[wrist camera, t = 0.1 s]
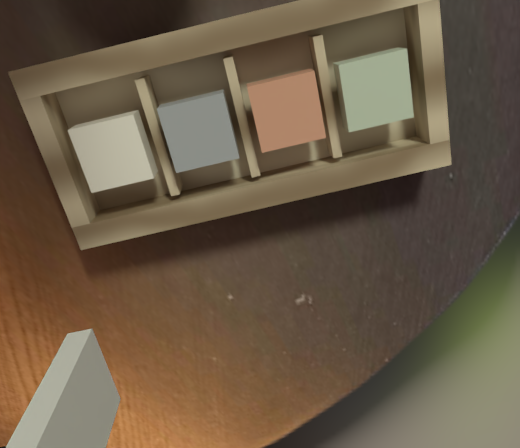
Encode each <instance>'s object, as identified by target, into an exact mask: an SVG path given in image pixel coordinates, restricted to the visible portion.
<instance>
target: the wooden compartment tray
mask: <svg viewBox="0 0 520 448" xmlns="http://www.w3.org/2000/svg"><path fill="white" fill-rule="evenodd" d="M393 48H407V53H408V63H409V73H410V83H411V93H412V103H413V113H414V117H413V118H409V119H404V120H400V121H396V122H392V123H387V124H383V125H379V126H375V127H370V128H366V129H362V130H358V131H353V132H348V131H347V130H346V129H345V128H343V123H342V117H341V111H340V104H339V98H338V92H337V85H336V79H335V73H334V66H333V63H335V62H339V61H344V60H348V59H352V58H356V57H360V56H364V55H368V54H373V53H377V52H381V51H385V50H389V49H393ZM306 69H312V70H314V71H315V77H316V83H317V88H318V94H319V100H320V106H321V111H322V117H323V123H324V128H325V134H326V138H324V139H319V140H315V141H311V142H307V143H302V144H298V145H294V146H290V147H285V148H281V149H277V150H272V151H268V152H264V153H262V151H261V146H260V142H259V138H258V133H257V129H256V125H255V120H254V116H253V112H252V107H251V103H250V98H249V94H248V90H247V85H246V84H248V83H252V82H256V81H260V80H265V79H269V78H273V77H277V76H281V75H285V74H290V73H294V72H298V71H302V70H306ZM8 74H9V77H10V79H11V81H12V84H13V86H14V89H15V91H16V94H17V96H18V98H19V101H20V103H21V106H22V108H23V111H24V113H25V115H26V118H27V120H28V123H29V125H30V128H31V130H32V132H33V135H34V137H35V140H36V142H37V145H38V147H39V149H40V152H41V154H42V157H43V159H44V162H45V164H46V166H47V169H48V171H49V174H50V176H51V179H52V181H53V184H54V186H55V188H56V191H57V193H58V196H59V198H60V201H61V203H62V205H63V208H64V210H65V213H66V215H67V218H68V220H69V222H70V225H71V227H72V230H73V232H74V235H75V237H76V239H77V242H78V244H79V247H80V249H81V250H84V249H88V248H93V247H97V246H101V245H106V244H110V243H114V242H119V241H123V240H127V239H132V238H136V237H140V236H145V235H149V234H153V233H158V232H162V231H166V230H171V229H175V228H179V227H184V226H188V225H192V224H197V223H201V222H205V221H210V220H214V219H218V218H223V217H227V216H231V215H236V214H240V213H244V212H249V211H253V210H257V209H262V208H266V207H270V206H275V205H279V204H283V203H288V202H292V201H296V200H301V199H305V198H309V197H314V196H318V195H322V194H327V193H331V192H335V191H340V190H344V189H348V188H353V187H357V186H361V185H366V184H370V183H374V182H379V181H383V180H387V179H392V178H396V177H400V176H405V175H409V174H413V173H418V172H422V171H426V170H431V169H435V168H439V167H444V166H448V165H451V152H450V138H449V124H448V111H447V97H446V84H445V70H444V57H443V43H442V30H441V16H440V2H439V0H298V1H294V2H290V3H286V4H282V5H278V6H274V7H270V8H266V9H262V10H258V11H254V12H249V13H245V14H241V15H237V16H233V17H229V18H225V19H221V20H217V21H213V22H209V23H205V24H201V25H197V26H193V27H189V28H184V29H180V30H176V31H172V32H168V33H164V34H160V35H156V36H152V37H148V38H144V39H140V40H136V41H132V42H128V43H123V44H119V45H115V46H111V47H107V48H103V49H99V50H95V51H91V52H87V53H83V54H79V55H75V56H71V57H67V58H63V59H58V60H54V61H50V62H46V63H42V64H38V65H34V66H30V67H26V68H22V69H18V70H14V71H10V72H8ZM223 89H224V93H225V97H226V101H227V105H228V109H229V113H230V117H231V121H232V125H233V129H234V133H235V137H236V141H237V145H238V149H239V158H238V159H234V160H230V161H226V162H221V163H217V164H213V165H209V166H204V167H200V168H196V169H192V170H187V171H183V172H179V173H176V171H175V168H174V164H173V161H172V158H171V154H170V151H169V148H168V145H167V141H166V138H165V135H164V131H163V128H162V125H161V122H160V118H159V115H158V112H157V108H158V107H159V106H160V105H161V104H165V103H169V102H173V101H177V100H182V99H186V98H190V97H194V96H198V95H202V94H206V93H211V92H215V91H219V90H223ZM136 110H139V114H140V117H141V120H142V123H143V126H144V129H145V132H146V135H147V139H148V142H149V145H150V148H151V151H152V154H153V157H154V160H155V164H156V167H157V170H158V172H157V173H156V175H155V177H154V178H153V179H149V180H145V181H141V182H136V183H132V184H128V185H124V186H119V187H115V188H111V189H107V190H102V191H98V192H94V193H91V190H90V188H89V185H88V183H87V180H86V177H85V175H84V172H83V170H82V167H81V164H80V162H79V159H78V156H77V154H76V151H75V149H74V146H73V143H72V141H71V138H70V136H69V133H68V130H69V129H70V128H72V127H73V126H75V125H78V124H82V123H86V122H90V121H94V120H98V119H103V118H107V117H111V116H115V115H119V114H123V113H127V112H132V111H136Z"/></svg>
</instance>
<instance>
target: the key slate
mask: <svg viewBox="0 0 520 448" xmlns="http://www.w3.org/2000/svg"><path fill="white" fill-rule="evenodd" d="M157 112H158V115H159V118H160V122H161V125H162V128H163V131H164V135H165V138H166V141H167V145H168V148H169V151H170V154H171V158H172V161H173V164H174V168H175V171H176V173H179V172H183V171H187V170H192V169H196V168H200V167H204V166H209V165H213V164H217V163H221V162H226V161H230V160H234V159H238V158H239V149H238V145H237V141H236V137H235V133H234V129H233V125H232V121H231V117H230V113H229V109H228V105H227V101H226V97H225V93H224V89H223V90H219V91H215V92H211V93H206V94H202V95H198V96H194V97H190V98H186V99H182V100H177V101H173V102H169V103H165V104H161V105H160V106H159V107H158V108H157Z"/></svg>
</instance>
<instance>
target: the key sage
mask: <svg viewBox="0 0 520 448" xmlns="http://www.w3.org/2000/svg"><path fill="white" fill-rule="evenodd" d="M333 66H334V73H335V79H336V85H337V92H338V98H339V104H340V111H341V117H342V123H343V128H345V129H346V130H347V131H348V132H353V131H358V130H362V129H366V128H370V127H375V126H379V125H383V124H387V123H392V122H396V121H400V120H404V119H409V118H413V117H414V113H413V103H412V93H411V83H410V73H409V63H408V53H407V48H393V49H389V50H385V51H381V52H377V53H373V54H368V55H364V56H360V57H356V58H352V59H348V60H344V61H339V62H335V63H333Z"/></svg>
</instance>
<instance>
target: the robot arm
mask: <svg viewBox="0 0 520 448" xmlns="http://www.w3.org/2000/svg"><path fill="white" fill-rule="evenodd" d="M119 402H120V396H119V394H118V391H117V389H116V386H115V384H114V381H113V379H112V376H111V374H110V372H109V369H108V367H107V364H106V362H105V359H104V357H103V354H102V352H101V349H100V347H99V344H98V342H97V339H96V337H95V334H94V332H93V329H88V330H83V331H78V332H73V333H68V334H67V335H66V337H65V339H64V341H63V343H62V345H61V347H60V348H59V350H58V352H57V354H56V356H55V358H54V359H53V361H52V363H51V365H50V367H49V369H48V370H47V372H46V374H45V376H44V378H43V380H42V382H41V383H40V385H39V387H38V389H37V391H36V393H35V394H34V396H33V398H32V400H31V402H30V404H29V405H28V407H27V409H26V411H25V413H24V415H23V416H22V418H21V420H20V422H19V424H18V426H17V428H16V429H15V431H14V433H13V435H12V437H11V439H10V440H9V442H8V444H7V446H5V447H0V448H106V445H107V442H108V439H109V435H110V432H111V429H112V425H113V422H114V419H115V416H116V412H117V409H118V406H119Z"/></svg>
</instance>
